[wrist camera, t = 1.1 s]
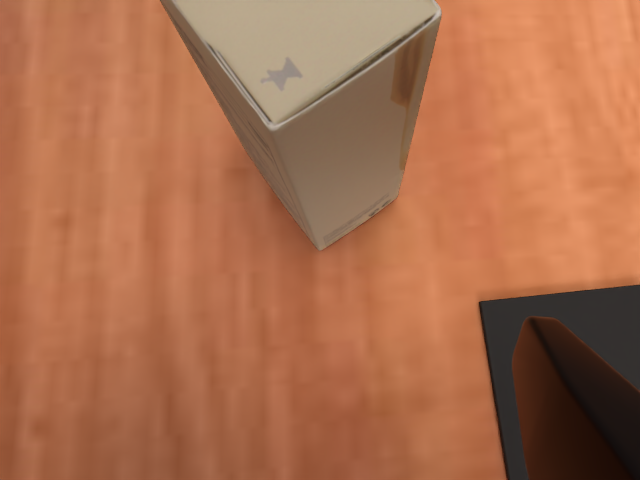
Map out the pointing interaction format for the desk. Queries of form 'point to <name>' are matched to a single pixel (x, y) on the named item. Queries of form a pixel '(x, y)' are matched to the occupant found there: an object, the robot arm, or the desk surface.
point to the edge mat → (579, 317)
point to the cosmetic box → (317, 95)
